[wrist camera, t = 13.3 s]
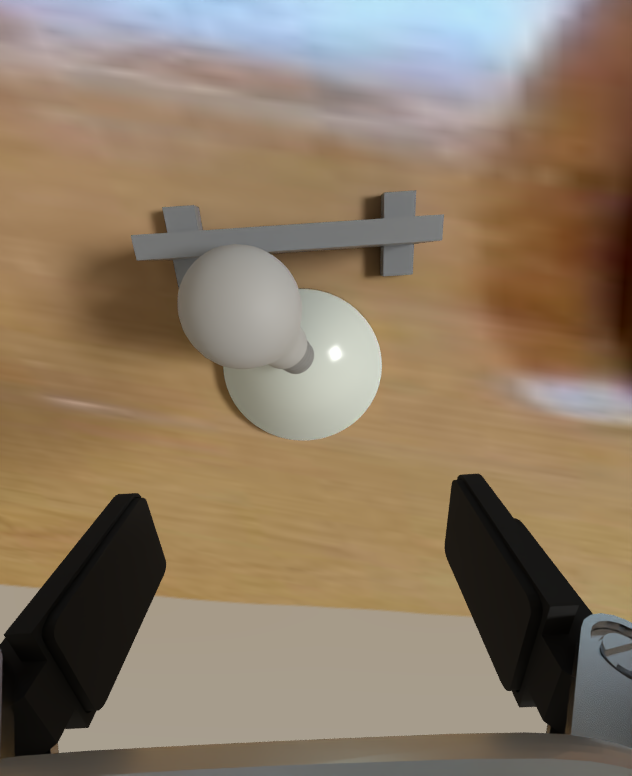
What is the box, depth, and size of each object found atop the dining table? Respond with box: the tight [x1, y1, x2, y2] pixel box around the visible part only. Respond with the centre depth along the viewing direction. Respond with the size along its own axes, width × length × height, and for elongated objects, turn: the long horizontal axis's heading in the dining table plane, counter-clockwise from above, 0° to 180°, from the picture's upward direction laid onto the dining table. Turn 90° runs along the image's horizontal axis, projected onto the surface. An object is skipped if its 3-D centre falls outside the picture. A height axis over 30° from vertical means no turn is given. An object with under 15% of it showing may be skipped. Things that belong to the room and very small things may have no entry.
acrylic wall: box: [131, 191, 444, 288], centre depth 20 cm, size 5×16×6 cm, turn 94°
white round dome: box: [223, 288, 382, 440], centre depth 26 cm, size 12×12×1 cm
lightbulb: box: [178, 244, 314, 374], centre depth 19 cm, size 6×6×11 cm
